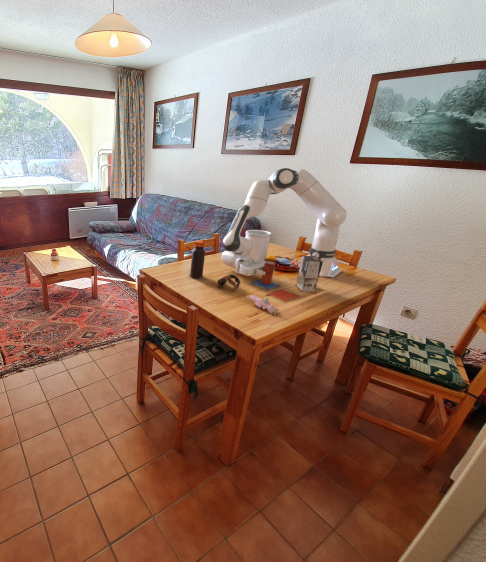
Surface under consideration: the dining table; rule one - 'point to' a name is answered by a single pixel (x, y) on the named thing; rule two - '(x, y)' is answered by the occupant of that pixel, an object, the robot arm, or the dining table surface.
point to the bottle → (197, 260)
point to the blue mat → (265, 285)
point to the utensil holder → (258, 243)
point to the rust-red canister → (268, 272)
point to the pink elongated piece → (263, 304)
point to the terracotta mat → (283, 295)
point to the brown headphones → (229, 281)
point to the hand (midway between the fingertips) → (269, 272)
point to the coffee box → (309, 273)
